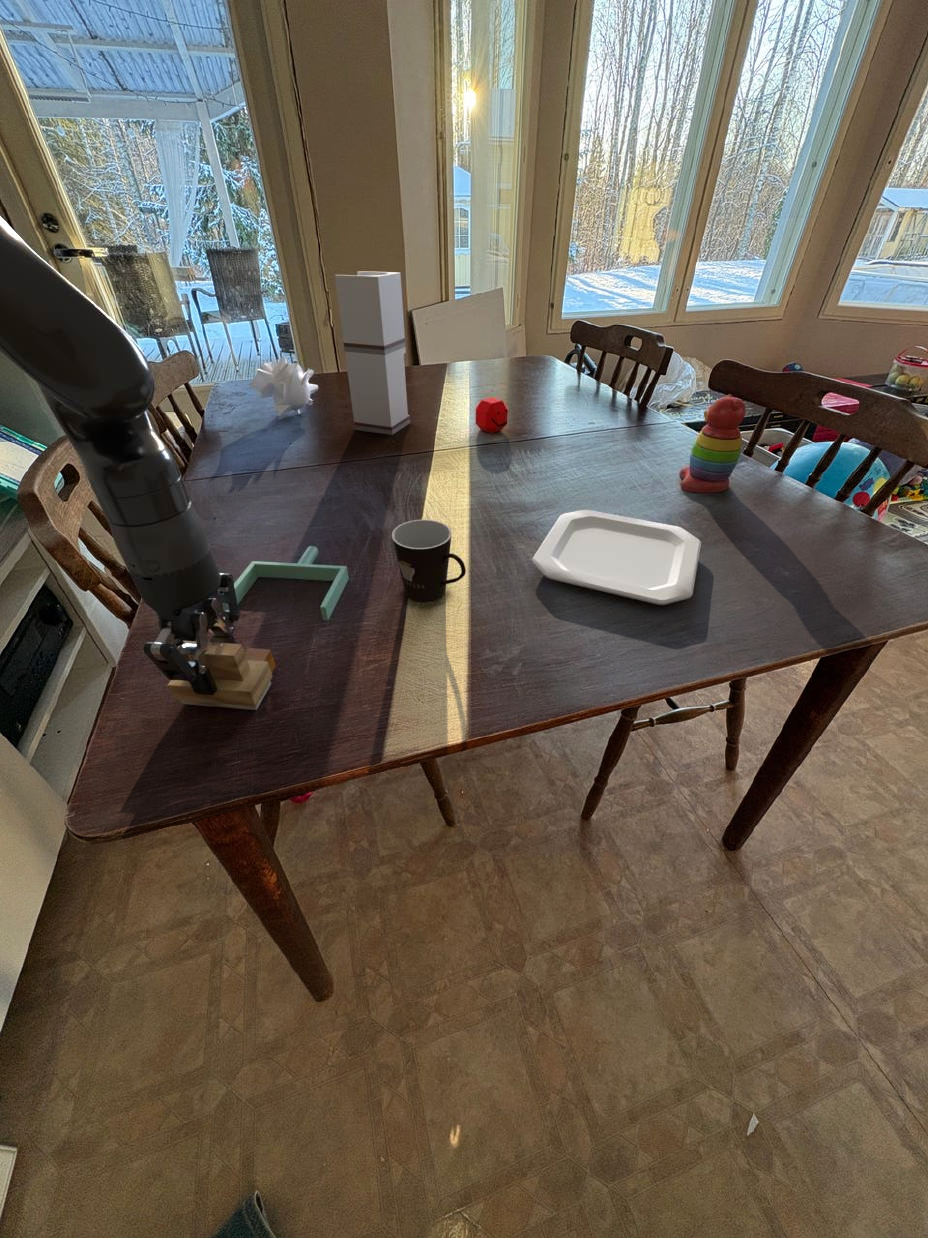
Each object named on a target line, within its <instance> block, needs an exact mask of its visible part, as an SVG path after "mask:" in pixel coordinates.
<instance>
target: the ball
mask: <svg viewBox="0 0 928 1238" xmlns="http://www.w3.org/2000/svg"><path fill="white" fill-rule="evenodd" d="M508 411H509V408H508V406H507V404H506V403H505V402H504V400H502V399H499V398H495V397H489V398H485V399H481V400H480V401H479V402H478V403H477V405H476V406H475V425H476V426H477V427H478V428H479V429H480V430H481V431H483V432H487V433H489V434H493V433H496V432H500V431H502V430H503V429H504V428H505V427H506V426H507V425H508Z"/></svg>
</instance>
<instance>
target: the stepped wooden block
mask: <svg viewBox="0 0 928 1238" xmlns="http://www.w3.org/2000/svg"><path fill="white" fill-rule="evenodd" d="M183 642H184V643H188V644H196V641H183ZM208 647H209V648H208V650H207V651H206V652H205V658H206V666H207V668H209V670H210V673H211V675H212V677H213V680H214V682H215V684H216V686H217V691H216V693H215V694H214V695H202V694H196V693H195V692H194V691H193V688H192V686H191V684H190V682H189V681H182V680H169V682H168V683H167V685H166V686H167V687H168V689H169V692H170V694H171V695H172V697H173V699H174V700H175V701H180V704H181V705H192V706H201V707H202V706H203V707H204V706H205V707H216V708H225V709H226V708H228V709H238V710H251V711H257V710H258V709H259V707H260V705H261V703H262V701H263V699H264V698H265V696H266V694H267V693H268V691H269V689H270V687H271V685H272V682H271V680H272V678H273V676H274V675H273V673H271V670H270V667H269V664H268V662H262V661H249V660H247V658H246V655H245V650H244V647H243V644H241V643H236V644H230V643H216V642H213V641H208ZM188 657H189V662H195V659H194V656H193V655H191V654H188Z"/></svg>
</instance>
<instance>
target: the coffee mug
mask: <svg viewBox="0 0 928 1238" xmlns="http://www.w3.org/2000/svg"><path fill="white" fill-rule="evenodd" d="M452 535H453V534H452V530H451V527H450V526H449V525H447V524H445V523H443V522H441V521H437V520H434V519H414V520H409V521H406V522H403V523H401V524H399V525H397V526H396V527H394V529H393V530H392V532H391V540H392V543H393V547H394V551H395V556H396V560H397V565H398V568H399V574H400V577H401V581H402V585H403V590H404V595H405V596H406V598H407V599H409V600H411V601H413V602H417V603H431V602H435V601H438V600H439V599H441V598H442V597H444V595H445V594H446V592H447V591H446V590H447V585H450V584H453V583H457V582H458V581H460V580H462V579H463V578H464V577H465V575H466V573H467V570H466V565H465V562H464V561H463V560H462V559H461V557H459V556H458V555H456V554H455V553H452V552H451V543H452ZM450 559H453V560H455V561H456V562H457V564H458V565H459V567H460V570H461V571H460V574H459V575H458V576H457V577H454V578H449V579H448V572H449V571H448V570H449V564H450V563H449V562H450Z"/></svg>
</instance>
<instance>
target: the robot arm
mask: <svg viewBox="0 0 928 1238" xmlns="http://www.w3.org/2000/svg"><path fill="white" fill-rule="evenodd" d="M0 353H1V354H2V355H4V356H5V357H6V358H7V359H8V360H9V361H11V362H12V363H13V364H14V365H15V366H16V367H18V369H20V370H21V371H22V372H24V374H26V375H27V376H28V377H30V378H31V379H32V380H33V381H34V382H35V384H36V387H37V388H38V390H39V392H40V393H41V395H42V397H43V399H44V401H45V403H46V404H47V405H48V407H49V410H50V411H51V413H52V415H53V416H54V418H55V420H56V421H57V423H58V425H59V427H60V428H61V430H62V431H63V433H64V435H65V437H66V438H67V440H68V441H69V443H70V444H71V447H72V448H73V450H74V451H75V453H76V454H77V456H78V458H79V460H80V462H81V464H82V467H83V470H84V472H85V475H86V478H87V481H88V483H89V485H90V488H91V490H92V491H93V494H94V496H95V498H96V499H97V502H98V504H99V506H100V508H101V510H102V512H103V514H104V516H105V518H106V521H107V523H108V526H109V529H110V532H111V537H112V539H113V543H114V544H115V546H116V548H117V551H118V552H119V554H120V557H121V559H122V561H123V563H124V565H125V568H126V569H127V571H128V573H129V575H130V577H131V579H132V581H133V583H134V586H135V588H136V590H137V592H138V594H139V595H140V596H139V597H140V598H141V600H142V601H143V603H144V604H145V605H147V606H148V607H149V608H150V609H152V610H153V611H154V612H155V613H156V614H157V618H158V628H159V630H160V632H159V634H158V635H157V637H156V639H155V640H154V641H146V642H145V643H144V645H143V647H142V648H143V653H144V654H145V655H146V656H147V658H149V660H150V661H151V662H152V663H153V665H155V666H156V667H157V668H158V669H159V670H160V672H161V673H162V674H163V675H164V676H165V677H166V678H167V680H169V681H171V680H182V681H189V682H190V684H191V686H192V688H193V691H194V692H195V693H196V694H202V695H214V694H215V693H216V691H217V686H216V684H215V682H214V680H213V677H212V675H211V673H210V670H209V668H207V666H206V658H205V652H206V651H207V650H208V648H209V647H208V642H209V641H208V640H209V639H208V632H209V633H210V634H212V636H211V640H212V642H216V643H230V644H237V641H236V639H235V637H234V632H235V626H234V622H238V621H239V620H240V609H239V604H237V598H236V593H235V587H234V583H235V582H234V577H233V574H232V573H222V572H220V571H219V567H218V565H217V562H216V560H215V559H216V558H215V557H214V553H213V551H212V548H211V545H210V543H209V540H208V537H207V534H206V531H205V528H204V526H203V523H202V521H201V519H200V516H199V515H198V513H197V510H196V509H195V507H194V506H193V503H192V501H191V498H190V496H189V492H188V490H187V486H186V484H185V481H184V478H183V476H182V473H181V471H180V468H179V466H178V464H177V461H176V459H175V457H174V454H173V453H172V451H171V449H170V448H169V447H168V445H166V444H165V442H164V441H163V440H162V439H161V438H160V436H159V435H158V433H157V432H156V431H155V428H154V425H153V424H152V421H151V419H150V417H149V414H148V411H147V410H148V409H149V408H150V406H151V404H152V402H153V400H154V396H155V390H156V386H155V385H156V382H155V376H154V371H153V369H152V367H151V364H150V361H149V360H148V358H147V356H146V355H145V353H144V352H143V350H142V349H141V347H140V346H139V345H138V344H137V343H136V342H135V340H134V339H133V338H132V337H131V336H130V335H129V334H128V333H127V331H125V330H124V329H123V328H122V327H121V326H120V325H119V324H118V323H117V322H115V321H114V320H113V319H112V318H111V317H110V316H109V315H108V314H107V313H106V312H104V311H103V310H102V309H101V308H100V307H99V306H98V304H97V305H96V303H94V302H93V301H92V300H91V299H90V298H89V297H87V296H86V295H85V294H84V293H83V292H82V291H81V290H79V289H78V288H77V287H76V286H75V285H74V284H72V283H71V282H70V281H69V280H68V279H66V277H64V276H63V275H62V274H61V273H59V271H57V270H56V269H55V268H54V267H52V266H51V264H49V263H47V261H45V260H44V259H43V258H42V257H40V255H38V254H37V253H36V251H34V250H33V249H32V248H31V247H30V246H29V245H28V244H27V243H26V242H25V241H24V240H23V239H22V238H21V237H20V235H18V233H16V231H15V230H14V229H13V228H12V227H11V226H10V225H9V224H8V223H7V221H6V220H4V219H3V218H2V217H1V216H0ZM222 603H226V604H228V607H229V611H227V610H224V609H223V606H222ZM183 641H196V644H188V643H184V642H183ZM188 654H191V655H193V656H194V659H195V662H189V657H188Z"/></svg>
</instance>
